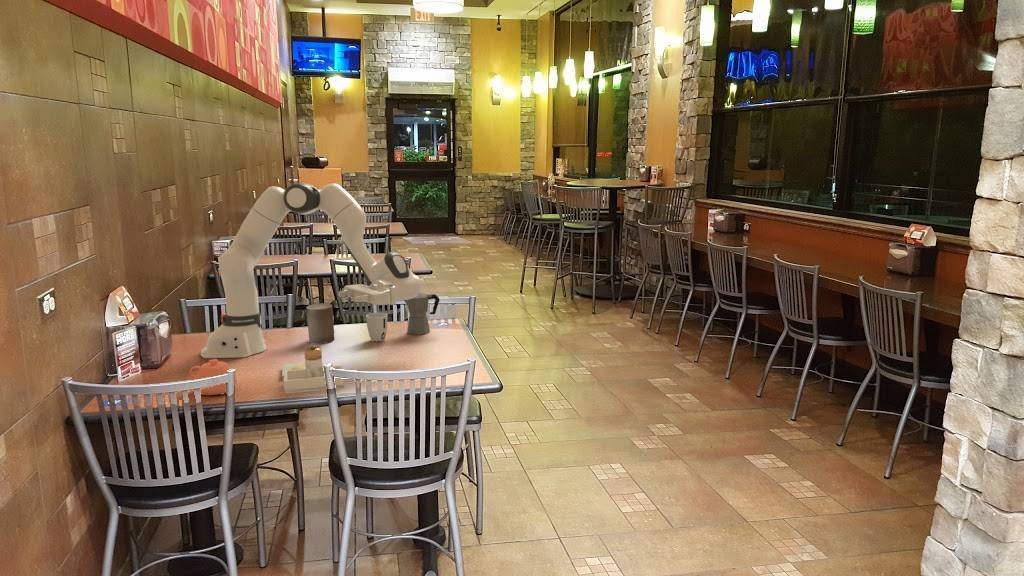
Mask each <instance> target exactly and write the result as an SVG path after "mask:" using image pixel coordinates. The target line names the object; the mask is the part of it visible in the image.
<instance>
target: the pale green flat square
mask: <svg viewBox="0 0 1024 576" xmlns="http://www.w3.org/2000/svg"><path fill="white" fill-rule="evenodd" d="M297 369H306V367H305V362H301V363H300V362H299V363H288V364H286V363H285V364H283V365H282V372H281V380H282V381H284V375H285V371H286V370H297Z"/></svg>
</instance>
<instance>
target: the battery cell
mask: <svg viewBox="0 0 1024 576" xmlns="http://www.w3.org/2000/svg"><path fill="white" fill-rule="evenodd" d="M303 350H304V351H303V352H304V361H305V362H304V363H305V367H306V378H315V377H323V374H322V367H323V362H322V361H323V360H322V359H323V355H322V347H321V346H317V344H310V345H309V346H307V347H305V348H304V349H303Z"/></svg>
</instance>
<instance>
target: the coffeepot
mask: <svg viewBox="0 0 1024 576" xmlns="http://www.w3.org/2000/svg"><path fill="white" fill-rule="evenodd" d="M429 300H435V301H434V302H433V304H434V305H433V307H432V311H430V312H429V315H436V311H437V308H438V306H439V302H440V297H439V296H438V295H437V294H431V293H430V294H427V293H422V292H420V293H419V294H418V295H417V296H416V297H415V298H412V299H409V300H405V301H404V303H405V304H406V306H407V310H408V311H407V312H408V313H409V316H408V323H407V329H406V331H407V334H409V335H412V334H416V335H415V336H420V335H419V334H423V335H427V334H429V333H430V332H431V330H430V325H429V320H428V315H427V312H428V308H429V307H428V306H429ZM428 332H429V333H428ZM426 333H427V334H426Z"/></svg>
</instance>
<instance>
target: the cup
mask: <svg viewBox="0 0 1024 576" xmlns="http://www.w3.org/2000/svg"><path fill="white" fill-rule="evenodd" d="M365 319H366V327H367V331H368V336H369V338H370V341H371V342H373V341H376V342H375V343H378V342H377V341H381V342H384V341H385V340H386V335H387V331H388V330H387V329H388V313H386V312H372V313H368V314H366V315H365ZM383 340H384V341H383Z"/></svg>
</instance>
